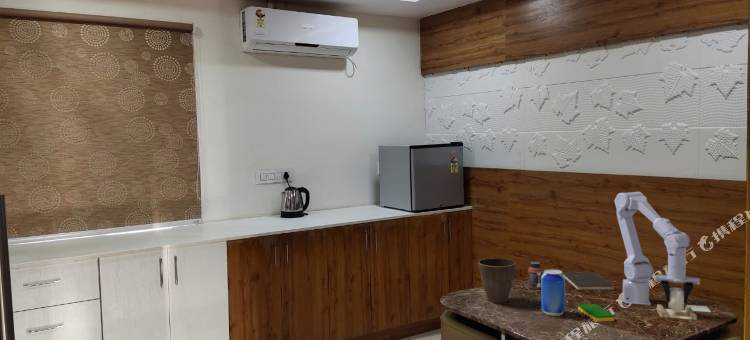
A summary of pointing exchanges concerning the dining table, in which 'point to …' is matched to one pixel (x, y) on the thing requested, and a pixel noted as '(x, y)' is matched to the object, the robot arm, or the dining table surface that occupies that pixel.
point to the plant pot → (497, 278)
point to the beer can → (553, 292)
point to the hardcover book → (588, 281)
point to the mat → (699, 308)
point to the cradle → (676, 313)
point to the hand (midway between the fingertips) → (676, 301)
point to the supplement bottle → (534, 275)
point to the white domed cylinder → (676, 299)
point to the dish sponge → (596, 312)
